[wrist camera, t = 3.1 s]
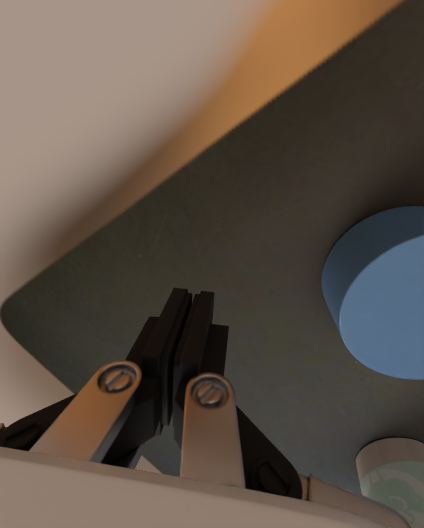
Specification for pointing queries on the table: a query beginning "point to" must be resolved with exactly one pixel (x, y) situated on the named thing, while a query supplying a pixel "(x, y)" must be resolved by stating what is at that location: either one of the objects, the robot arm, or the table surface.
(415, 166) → the table surface
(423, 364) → the puck
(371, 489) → the coffee cup
